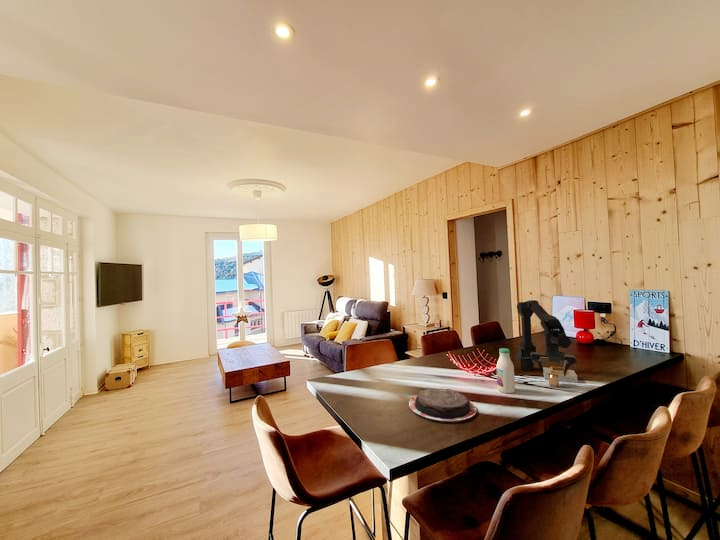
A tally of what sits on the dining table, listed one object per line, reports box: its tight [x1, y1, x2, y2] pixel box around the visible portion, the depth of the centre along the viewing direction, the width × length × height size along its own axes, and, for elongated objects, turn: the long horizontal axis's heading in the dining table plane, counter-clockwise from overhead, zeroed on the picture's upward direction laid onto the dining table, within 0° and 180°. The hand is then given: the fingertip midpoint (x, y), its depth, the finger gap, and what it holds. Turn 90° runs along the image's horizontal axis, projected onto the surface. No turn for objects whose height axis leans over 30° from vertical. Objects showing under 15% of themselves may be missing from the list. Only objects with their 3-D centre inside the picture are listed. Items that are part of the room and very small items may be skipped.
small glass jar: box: [548, 373, 560, 388], centre depth 144 cm, size 4×4×6 cm
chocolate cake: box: [408, 388, 477, 424], centre depth 123 cm, size 28×28×7 cm
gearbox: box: [542, 366, 579, 384], centre depth 154 cm, size 14×10×5 cm
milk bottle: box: [496, 347, 516, 394], centre depth 140 cm, size 8×8×20 cm
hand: (553, 374), depth 144 cm, fingers open, 9 cm apart
